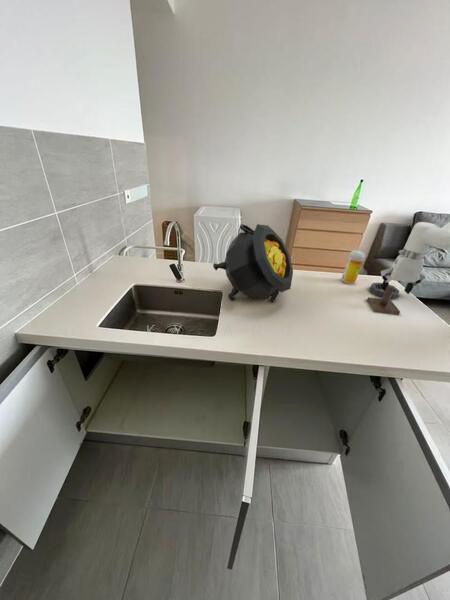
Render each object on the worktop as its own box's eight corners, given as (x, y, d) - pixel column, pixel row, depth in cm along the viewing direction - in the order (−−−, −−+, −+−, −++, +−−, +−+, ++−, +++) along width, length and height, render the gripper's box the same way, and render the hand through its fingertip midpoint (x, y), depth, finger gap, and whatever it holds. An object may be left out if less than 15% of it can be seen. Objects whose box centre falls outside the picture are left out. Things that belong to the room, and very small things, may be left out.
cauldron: (247, 263, 118) (293, 240, 104) (251, 316, 106) (304, 299, 92) (206, 235, 99) (255, 203, 84) (206, 297, 87) (264, 271, 72)
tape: (390, 288, 113) (392, 284, 111) (401, 300, 103) (403, 295, 102) (366, 286, 114) (368, 281, 113) (374, 297, 105) (376, 292, 103)
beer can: (357, 284, 114) (368, 254, 107) (344, 284, 114) (354, 254, 106) (351, 279, 120) (361, 249, 112) (339, 278, 119) (348, 249, 112)
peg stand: (389, 302, 102) (398, 282, 97) (398, 314, 94) (409, 293, 89) (366, 300, 103) (375, 280, 98) (374, 311, 95) (383, 290, 90)
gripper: (393, 255, 96) (377, 292, 105) (441, 260, 94) (420, 297, 103) (386, 248, 102) (371, 284, 111) (430, 253, 100) (411, 289, 110)
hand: (394, 290), depth 107 cm, fingers open, 9 cm apart
